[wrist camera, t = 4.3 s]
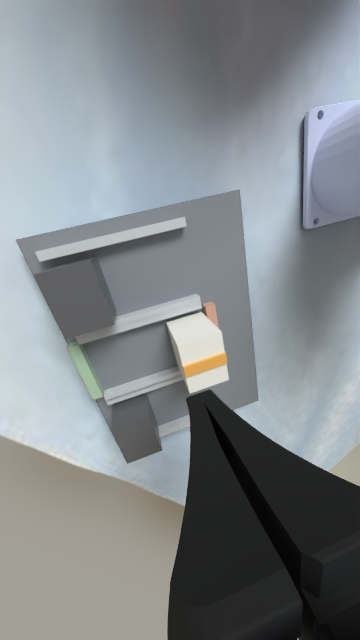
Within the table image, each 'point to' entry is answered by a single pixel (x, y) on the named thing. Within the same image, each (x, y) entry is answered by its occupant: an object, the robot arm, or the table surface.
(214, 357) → the handle
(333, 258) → the table surface
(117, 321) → the breaker board
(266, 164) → the table surface
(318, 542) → the robot arm
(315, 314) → the table surface
